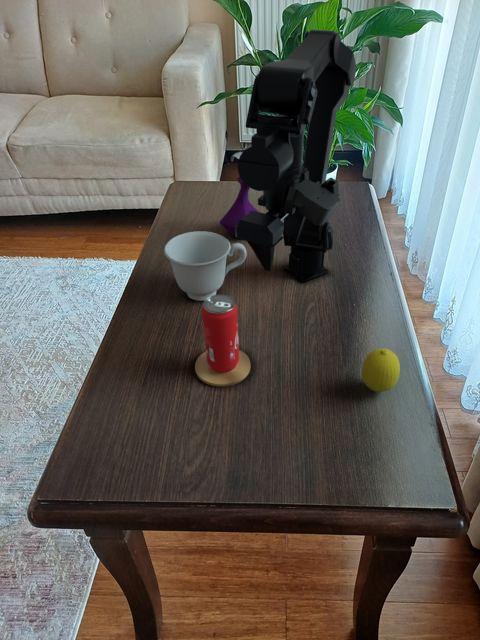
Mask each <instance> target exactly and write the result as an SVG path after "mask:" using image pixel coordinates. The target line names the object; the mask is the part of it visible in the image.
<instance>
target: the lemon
mask: <svg viewBox="0 0 480 640" xmlns="http://www.w3.org/2000/svg"><path fill="white" fill-rule="evenodd" d="M400 374H401V365H400V360H399V357H398V355H396V353H395V352H394V351H392V350H391V349H388V348H383V347H382V348H376V349H374V350H372V351H370V352H369V353H368V354H367V355H366V358H364V361H363V363H362V367H361V377H362V380H363V383H364V385H365V386H366V387H367V388H368V389H370V390H371V391H373V392H378V393H384V392H387V391H390V390H391V389H393V388H394V386H395V385H396V384H397V382H398V380H399V378H400Z"/></svg>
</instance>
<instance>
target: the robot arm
mask: <svg viewBox="0 0 480 640" xmlns="http://www.w3.org/2000/svg"><path fill="white" fill-rule="evenodd" d="M356 73H357V64H356V59H355V53H354V51H353V50H352V49H351V48H350V47H349V46H347V45H346V44H345V43H344V42H342V40H341V36H340V33H339V32H336V31H335V30H327V29H326V30H325V29H310V30H309V31H306V32H305V34H304V37H303V40H302V41H301V42H300V43H299V45H297V47H295V49H294V50H293V51H292V52H291V53H290V54H289V56H288V57H287V58H286V59H283V60H275V61H271V62H268V63H266V64H264V65H262V66H261V67H260V70H259V71H258V74H256V75H255V77H254V81H253V85H252V90H251V94H250V95H251V96H250V100H249V105H248V111H247V114H246V120H245V128H246V129H254V130H256V133H254V134H253V135H251V137H250V138H251V139H250V141H251V143H250V145H248V146H247V147H246V148H245V149H244V150H243V151H241V152H242V154H241V155H240V157H239V159H238V161H237V165H236V167H237V172H238V176H240V178H241V179H242V181H243V182H244V183H245V184H246V185H247V186H248V187H250V188H249V189H251V190H254V191H257V192H262V195H261V196H260V197H258V198H257V206H260V207H265V209H266V212H265V213H264V212H261V211H259V212H256V211H251V212H249V213H248V214H247V215H246V216H244V217H243V218H242V219H241V220H239V221H238V222H237V223H236V224H235V233H236V236H235V237H236V239H239V240H243V241H245V242H246V243H247V244H248V245H249V247H250V248H251V250H252V251H253V253H254V254H255V256H256V258H257V260H258V262H259V264H260V265H261V267H262V269H263V270H264V271H267V272H270V271H272V267H273V263H274V256H275V248H276V246H277V245H278V244H279V243H280V242H281V241H282V240H283V245H284V246H285V247H290V252H289V253H288V265H285V270H286V271H287V272H288V273H290V274H291V275H293V276H294V277H295V278H296V279H298V280H299V281H301V282H302V283H307V282H309V281H312V280H314V279H316V278H319V277H321V276H325V275H327V274H328V273H329V269H328V268H326V267H325V266H324V263H325V254H326V253H327V252H328V251H330V250H333V248H334V247H333V246H334V235H333V234H334V230H333V228H332V225H331V222H329V220H330V218H331V217H332V215H333V212H334V210H335V209H336V206H337V205H338V204H339V203H340V202H341V198H340V196H341V194H340V189H339V187H340V186H339V181H338V180H337V179H335V178H333V177H329V178H327V176H328V169H329V162H330V157H331V150H332V144H333V136H334V131H335V124H336V118H337V113H338V111H339V110H340V109H341V108H342V106H343V105H344V104H345V102H346V101H347V100H348V98H349V96H350V95H349V94H350V89H351V87H352V86H353V85H354V83H355V79H356ZM260 113H261V114H260ZM262 113H266V114H262ZM271 114H274V115H271ZM307 126H308V128H307V135H306V141H305V142H306V143H305V148H304V138H305V137H304V135H305V130H306V127H307ZM304 149H305V150H304ZM303 156H304V157H303Z"/></svg>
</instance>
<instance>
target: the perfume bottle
mask: <svg viewBox="0 0 480 640" xmlns="http://www.w3.org/2000/svg"><path fill="white" fill-rule="evenodd" d="M242 152H243V151H238V152H235V153H234V154H232V156H231V157H230V161H231V163H233V162H234V159H235V158H236V159H238V160H239V157H240V155H241V154H242ZM236 180H237V183H239V184H240V188H239V191H238V194H237V196H236V198H235V200H234V202H233V204H232V205H231V207H230V208H229V209H228V210H227V212H226V213H225V214H224V215H223V217H221V219H220V221H219V224H220V226H222V228H224V230H225V231H226V232H228V234H229V235H230V236H234V237H236V233H235V224H236V223H237V222H238V221H239V220H241V219H242V218H243V217H244V216H246V215H247V214H248V213H249V212H251V211H256V212H260V211H259V210H258V209H257V208H256V207H254V206H253V204H252V203H251V202H250V200H249V192H250V189H251V188H250V187H248V186H247V185H246V184H245V183H244V182H243V181H242V179H241V178H240V175H238V177H237V178H236Z"/></svg>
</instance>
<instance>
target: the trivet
mask: <svg viewBox="0 0 480 640" xmlns="http://www.w3.org/2000/svg"><path fill="white" fill-rule="evenodd" d="M251 366H252V365H251V360H250V358H249V356H248V354H246V353H245V352H244V351H242V350H241V349H239V362H238V363H237V366H236V368H235V369H234V370H232V371H230V372H227V373H219V372H216V371H214V370H213V369H212V368H211V367H210V365H209V364H208V362H207V354H206V351H204V352H203V353H201V354H200V355H199V356H198V357H197V359H196V361H195V363H194V371H195V374H196V376H197V378H198V379H199V381H202V382H203V384H207V385H209V386H212V387H220V388H222V387H224V388H225V387H230V386H235V385H236V384H239V383H240V382H242V381H243V380H245V379H246V378H247V377H248V375H249V374H250V372H251V369H252V368H251Z"/></svg>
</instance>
